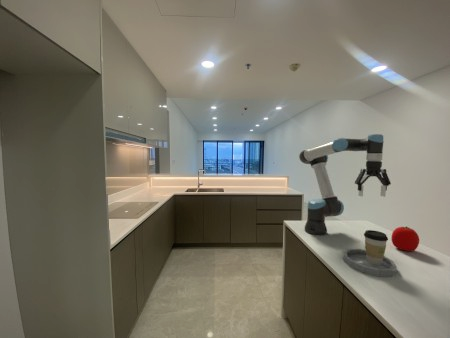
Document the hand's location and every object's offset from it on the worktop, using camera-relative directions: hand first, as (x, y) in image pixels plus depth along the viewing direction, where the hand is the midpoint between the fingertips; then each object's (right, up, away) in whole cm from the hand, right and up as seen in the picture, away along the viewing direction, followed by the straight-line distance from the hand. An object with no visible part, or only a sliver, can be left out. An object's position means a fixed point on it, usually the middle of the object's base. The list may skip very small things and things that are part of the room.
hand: (371, 196), depth 119 cm
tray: (-15, -33, -17) cm, 40 cm away
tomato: (+19, -32, -1) cm, 37 cm away
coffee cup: (-12, -32, -18) cm, 38 cm away
